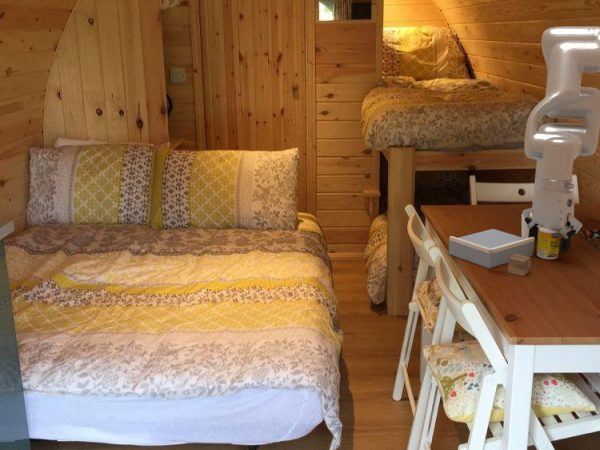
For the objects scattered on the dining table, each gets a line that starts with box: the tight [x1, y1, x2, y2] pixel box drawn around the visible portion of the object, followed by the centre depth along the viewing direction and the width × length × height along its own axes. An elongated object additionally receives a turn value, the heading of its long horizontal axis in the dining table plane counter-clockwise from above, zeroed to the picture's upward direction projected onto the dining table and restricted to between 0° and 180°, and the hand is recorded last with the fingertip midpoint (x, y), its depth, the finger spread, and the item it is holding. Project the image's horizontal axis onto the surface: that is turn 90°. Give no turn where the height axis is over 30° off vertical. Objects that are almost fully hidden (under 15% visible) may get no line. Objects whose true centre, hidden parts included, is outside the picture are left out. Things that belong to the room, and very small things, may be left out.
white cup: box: [521, 212, 542, 239], centre depth 189 cm, size 7×7×7 cm
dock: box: [448, 228, 535, 269], centre depth 175 cm, size 18×14×5 cm
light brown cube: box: [507, 254, 532, 277], centre depth 162 cm, size 4×4×4 cm
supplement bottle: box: [536, 226, 562, 260], centre depth 172 cm, size 6×6×10 cm
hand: (548, 246), depth 173 cm, fingers open, 9 cm apart
